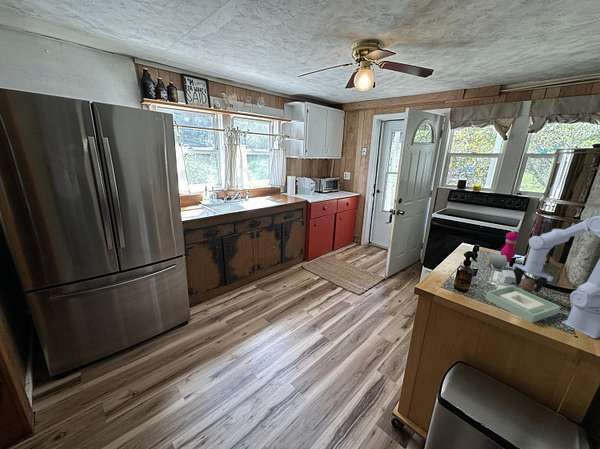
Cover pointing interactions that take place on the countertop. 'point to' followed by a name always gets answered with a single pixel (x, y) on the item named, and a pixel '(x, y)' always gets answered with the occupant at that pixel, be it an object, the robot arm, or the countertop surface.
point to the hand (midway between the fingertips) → (527, 287)
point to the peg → (528, 285)
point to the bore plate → (523, 302)
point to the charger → (510, 277)
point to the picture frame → (548, 309)
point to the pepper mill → (509, 245)
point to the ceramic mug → (497, 261)
